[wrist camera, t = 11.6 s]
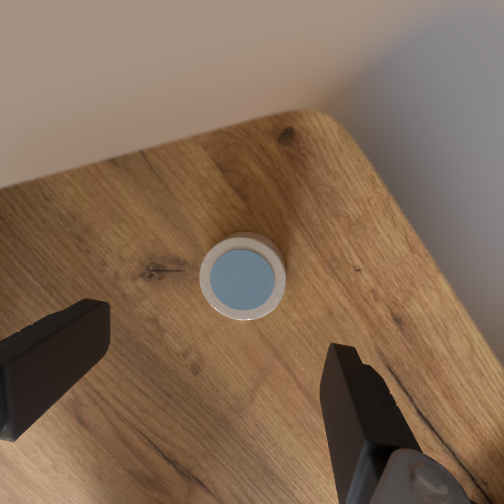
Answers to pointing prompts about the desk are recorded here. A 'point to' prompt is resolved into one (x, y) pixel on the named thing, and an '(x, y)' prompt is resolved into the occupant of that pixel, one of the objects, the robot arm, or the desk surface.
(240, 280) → the button
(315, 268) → the desk surface
